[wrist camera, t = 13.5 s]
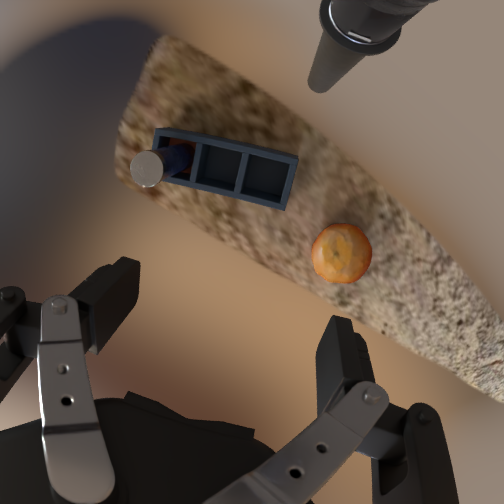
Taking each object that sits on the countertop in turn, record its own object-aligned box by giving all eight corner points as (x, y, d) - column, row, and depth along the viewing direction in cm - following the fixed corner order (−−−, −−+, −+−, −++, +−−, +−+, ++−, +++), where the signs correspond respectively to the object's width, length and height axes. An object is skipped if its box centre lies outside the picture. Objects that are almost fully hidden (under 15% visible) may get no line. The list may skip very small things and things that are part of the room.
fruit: (350, 291, 45) (335, 300, 39) (315, 253, 48) (293, 255, 41) (388, 251, 42) (380, 253, 35) (349, 213, 45) (334, 208, 38)
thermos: (173, 139, 41) (132, 148, 30) (199, 144, 41) (165, 154, 30) (168, 166, 42) (128, 183, 31) (194, 171, 42) (160, 190, 31)
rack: (168, 127, 41) (155, 128, 37) (298, 155, 40) (298, 159, 36) (160, 172, 44) (147, 177, 39) (285, 202, 43) (284, 211, 39)
